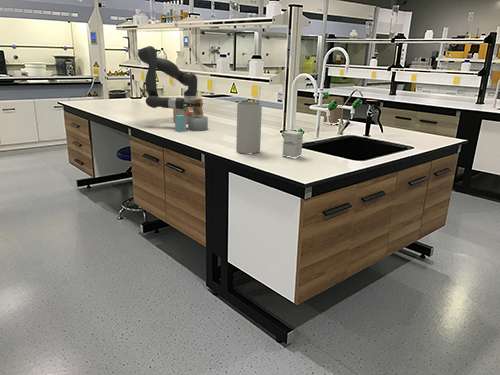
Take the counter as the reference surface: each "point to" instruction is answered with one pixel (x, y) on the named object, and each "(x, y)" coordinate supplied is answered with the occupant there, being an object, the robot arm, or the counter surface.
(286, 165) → the counter surface
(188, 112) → the stack of blocks
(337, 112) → the block
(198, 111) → the walnut block
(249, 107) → the cylinder vase
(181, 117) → the teal block
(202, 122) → the plinth
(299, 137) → the supplement box
